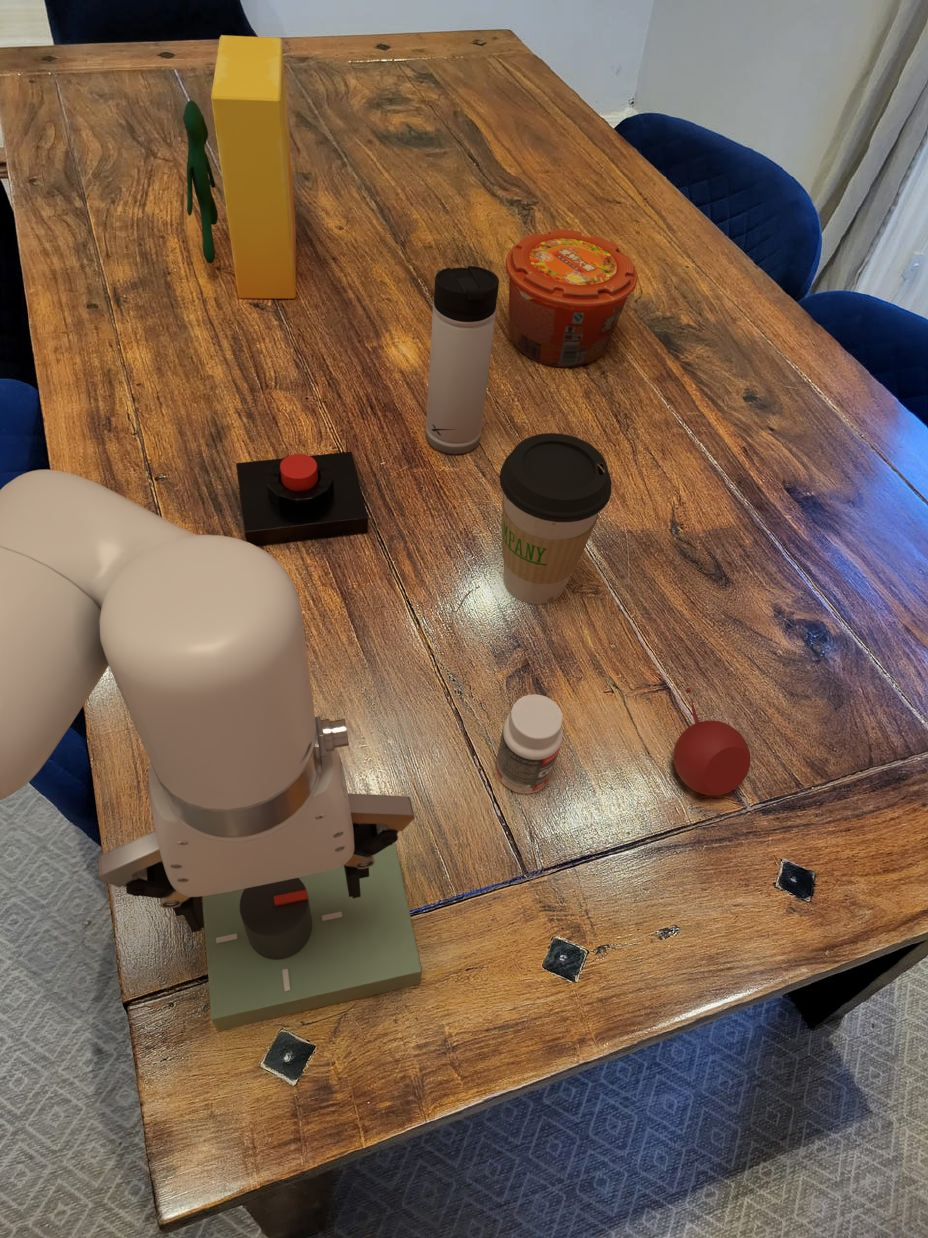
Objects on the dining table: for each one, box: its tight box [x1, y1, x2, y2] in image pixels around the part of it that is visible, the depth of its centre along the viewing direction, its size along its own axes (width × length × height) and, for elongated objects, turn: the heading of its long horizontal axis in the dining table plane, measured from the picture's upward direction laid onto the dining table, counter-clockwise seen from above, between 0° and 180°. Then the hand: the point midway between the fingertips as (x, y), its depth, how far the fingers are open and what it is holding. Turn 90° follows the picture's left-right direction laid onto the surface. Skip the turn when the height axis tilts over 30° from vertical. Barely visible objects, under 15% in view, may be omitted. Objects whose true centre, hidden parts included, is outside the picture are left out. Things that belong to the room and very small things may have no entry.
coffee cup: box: [499, 432, 613, 605], centre depth 81 cm, size 10×10×15 cm
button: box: [280, 453, 318, 491], centre depth 87 cm, size 4×4×2 cm
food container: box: [505, 229, 639, 368], centre depth 108 cm, size 16×16×11 cm
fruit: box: [673, 687, 751, 796], centre depth 73 cm, size 6×6×8 cm
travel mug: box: [424, 265, 500, 455], centre depth 91 cm, size 6×7×20 cm
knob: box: [239, 878, 312, 960], centre depth 59 cm, size 4×4×5 cm
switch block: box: [235, 451, 369, 547], centre depth 89 cm, size 12×10×4 cm
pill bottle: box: [495, 693, 564, 795], centre depth 70 cm, size 5×5×8 cm
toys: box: [182, 34, 297, 300], centre depth 108 cm, size 18×12×24 cm
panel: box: [202, 842, 423, 1032], centre depth 62 cm, size 14×10×3 cm
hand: (275, 891), depth 55 cm, fingers open, 9 cm apart
